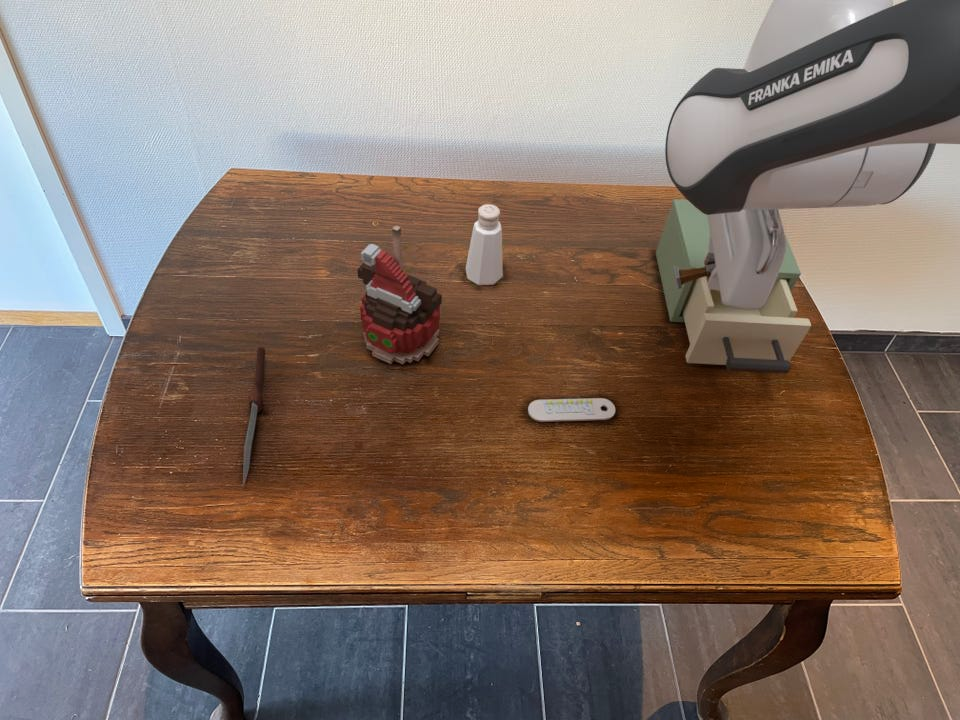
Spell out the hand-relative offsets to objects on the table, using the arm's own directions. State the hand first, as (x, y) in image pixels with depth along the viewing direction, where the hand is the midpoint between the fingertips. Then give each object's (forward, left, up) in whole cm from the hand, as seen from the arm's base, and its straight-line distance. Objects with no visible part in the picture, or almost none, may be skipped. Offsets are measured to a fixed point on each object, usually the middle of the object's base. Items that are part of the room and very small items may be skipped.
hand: (712, 276), depth 73 cm
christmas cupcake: (+1, +34, -18) cm, 38 cm away
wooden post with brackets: (0, 0, -2) cm, 2 cm away
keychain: (-7, +12, -17) cm, 22 cm away
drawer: (+6, -8, -16) cm, 19 cm away
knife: (-14, +48, -18) cm, 53 cm away
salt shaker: (+15, +25, -18) cm, 34 cm away
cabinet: (+17, -7, -17) cm, 25 cm away
